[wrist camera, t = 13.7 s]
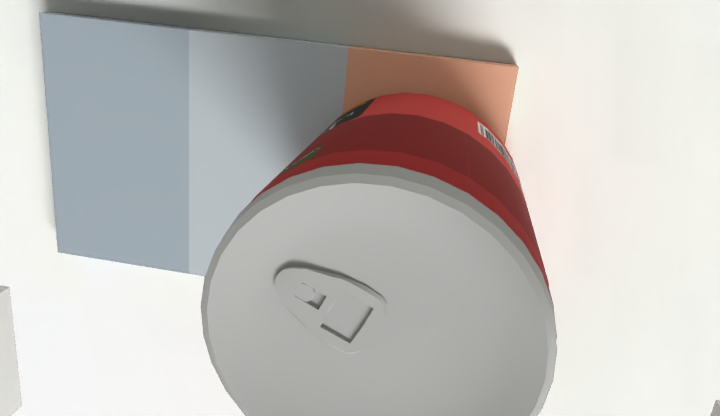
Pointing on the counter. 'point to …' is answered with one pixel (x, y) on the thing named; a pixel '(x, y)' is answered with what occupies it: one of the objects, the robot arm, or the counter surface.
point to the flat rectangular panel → (207, 124)
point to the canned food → (385, 275)
